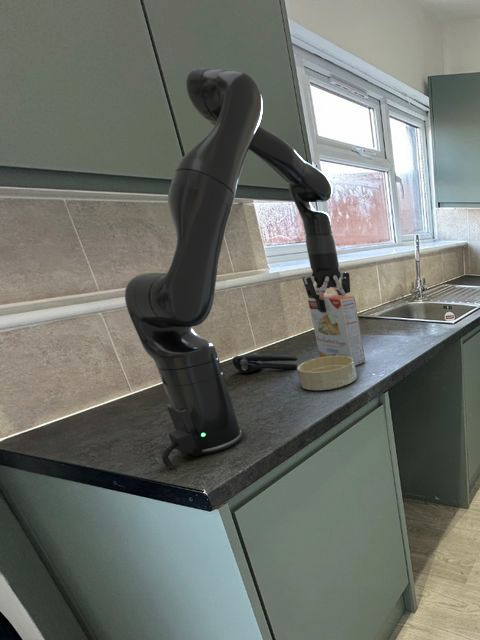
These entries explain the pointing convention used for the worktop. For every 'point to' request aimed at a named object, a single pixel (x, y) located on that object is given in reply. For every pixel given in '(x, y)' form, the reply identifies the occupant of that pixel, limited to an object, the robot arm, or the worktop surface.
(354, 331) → the cracker box
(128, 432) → the worktop surface
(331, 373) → the bowl
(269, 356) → the can opener
